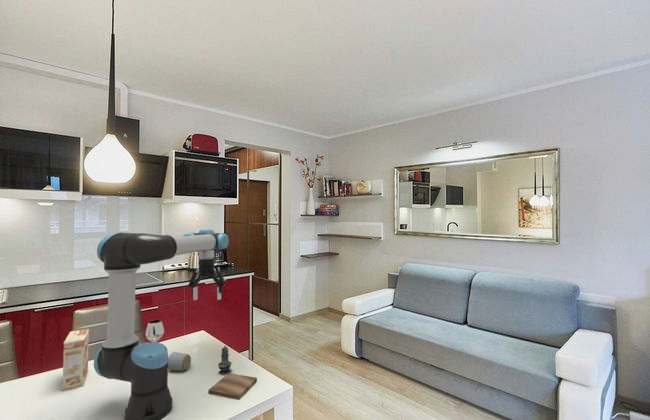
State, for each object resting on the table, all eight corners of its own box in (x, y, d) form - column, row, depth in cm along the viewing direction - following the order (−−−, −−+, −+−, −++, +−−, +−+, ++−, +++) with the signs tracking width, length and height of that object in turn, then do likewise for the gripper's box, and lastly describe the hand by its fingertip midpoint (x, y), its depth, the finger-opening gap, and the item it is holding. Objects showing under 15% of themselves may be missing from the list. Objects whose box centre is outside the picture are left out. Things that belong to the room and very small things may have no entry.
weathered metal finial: (234, 371, 142) (234, 345, 143) (222, 376, 138) (222, 349, 138) (227, 367, 146) (227, 341, 147) (215, 371, 142) (215, 345, 142)
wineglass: (158, 361, 152) (158, 324, 152) (141, 361, 152) (142, 324, 152) (166, 354, 160) (167, 318, 161) (151, 354, 160) (151, 318, 161)
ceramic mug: (183, 374, 140) (183, 356, 141) (166, 373, 141) (166, 355, 141) (195, 363, 151) (195, 347, 151) (179, 362, 152) (179, 346, 152)
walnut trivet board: (239, 399, 121) (239, 395, 121) (208, 393, 125) (208, 389, 125) (256, 381, 134) (256, 377, 134) (228, 376, 138) (228, 372, 138)
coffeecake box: (83, 386, 130) (84, 339, 130) (61, 391, 126) (62, 343, 127) (88, 371, 143) (89, 328, 143) (69, 375, 139) (69, 331, 140)
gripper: (232, 257, 166) (232, 297, 164) (189, 259, 171) (190, 298, 169) (225, 258, 159) (225, 300, 157) (181, 260, 163) (181, 301, 161)
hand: (207, 299), depth 163 cm, fingers open, 13 cm apart
